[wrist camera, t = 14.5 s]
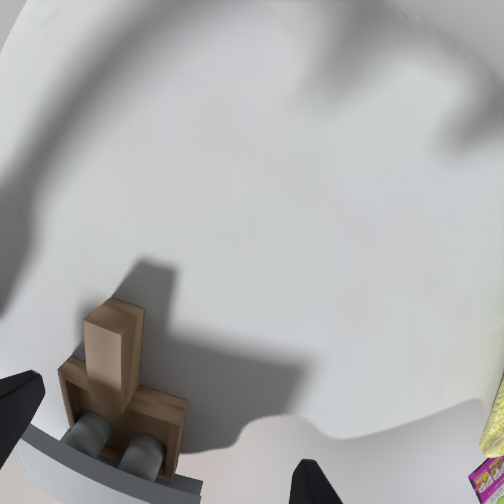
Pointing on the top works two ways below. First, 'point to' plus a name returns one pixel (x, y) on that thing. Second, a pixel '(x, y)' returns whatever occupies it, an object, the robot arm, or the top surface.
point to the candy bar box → (489, 481)
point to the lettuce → (494, 428)
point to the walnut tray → (120, 398)
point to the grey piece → (94, 476)
